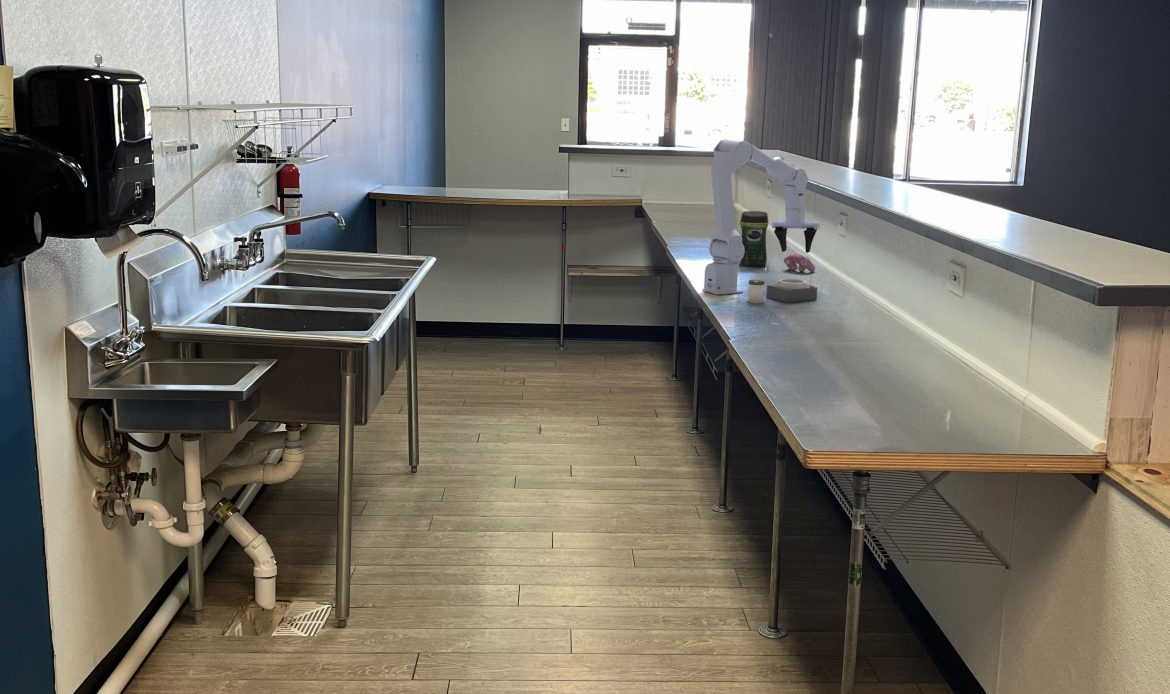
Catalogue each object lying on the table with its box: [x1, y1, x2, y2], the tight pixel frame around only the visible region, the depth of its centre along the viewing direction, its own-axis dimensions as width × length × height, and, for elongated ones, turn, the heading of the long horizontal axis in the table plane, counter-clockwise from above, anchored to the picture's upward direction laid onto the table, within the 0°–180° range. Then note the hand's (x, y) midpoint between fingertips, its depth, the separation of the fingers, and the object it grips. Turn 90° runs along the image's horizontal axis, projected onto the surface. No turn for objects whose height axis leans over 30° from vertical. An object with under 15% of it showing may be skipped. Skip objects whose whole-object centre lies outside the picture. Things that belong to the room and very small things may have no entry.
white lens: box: [747, 279, 765, 304], centre depth 292 cm, size 4×4×6 cm
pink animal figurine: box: [783, 253, 816, 273], centre depth 344 cm, size 10×5×7 cm, turn 45°
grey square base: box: [766, 278, 818, 303], centre depth 298 cm, size 11×9×5 cm
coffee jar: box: [738, 210, 769, 268], centre depth 353 cm, size 10×8×19 cm
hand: (796, 251), depth 317 cm, fingers open, 7 cm apart
